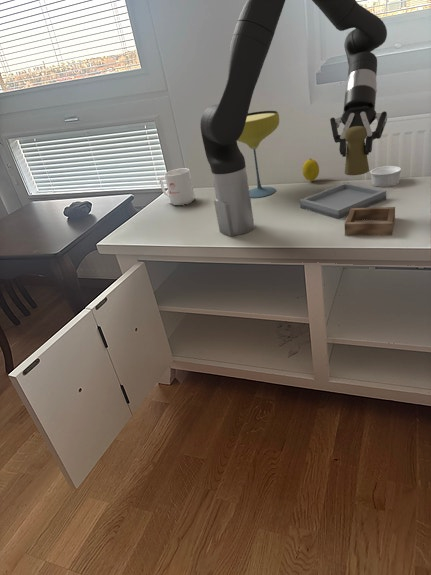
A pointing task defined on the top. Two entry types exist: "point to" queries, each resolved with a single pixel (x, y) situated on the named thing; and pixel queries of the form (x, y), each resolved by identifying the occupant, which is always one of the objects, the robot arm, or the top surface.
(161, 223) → the top surface
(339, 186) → the grey tray
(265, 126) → the cocktail glass
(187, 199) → the mug
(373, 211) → the walnut holder
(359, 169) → the cork
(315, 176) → the lemon
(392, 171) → the ramekin
